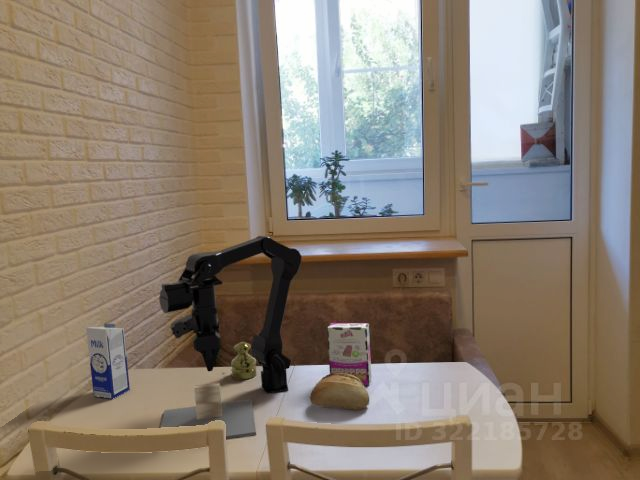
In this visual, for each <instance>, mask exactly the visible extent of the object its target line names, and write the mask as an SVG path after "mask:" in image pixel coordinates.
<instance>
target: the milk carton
mask: <svg viewBox="0 0 640 480" xmlns="http://www.w3.org/2000/svg"><path fill="white" fill-rule="evenodd" d="M85 330H86V337H87V338H86V339H87V349H88V355H89V356H88V358H89V365H90V366H89V367H90V373H91V374H90V375H91V383H92V392H93V396H94V395H95V396H99V397H105V398H104V399H106V398H109V399H108V400H112V399H113V398H115V397H116V398H118V397H120V396H121V394H122V395H124V394H125V393H127V392H128V390H129V391H130V389H131V386H130V378H129V368H128V360H127V359H128V358H127V349H126V341H125V339H126V338H125V328H123V327H122V328H121V327H120V328H119V327H116V323H109V322H107V323H106V322H105V323H104V326H89V327H88V326H87V327H85ZM126 391H127V392H126ZM124 392H125V393H124ZM119 395H120V396H119ZM117 396H118V397H117ZM99 397H98V398H99ZM116 398H115V399H116ZM113 400H114V399H113Z"/></svg>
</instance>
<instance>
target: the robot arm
mask: <svg viewBox="0 0 640 480" xmlns="http://www.w3.org/2000/svg"><path fill="white" fill-rule="evenodd" d="M260 254H263V255H264V256H265V257H267V258H268V259H270V270H271V273H272V274H271V275H272V284H271V288H270V292H269V298H268V303H267V306H266V307H267V308H266V312H265V316H264V321H263V327H262V328H261V329H262V330H261V331H260V332H259V333H258V334H256V333H254V334H253V336H252V343H251V347H250V349H251V354H252V355H251V356H252V357H253V358H255V359H256V361H257V362H258V365H260V366H262V370H261V371H260V379H261V382H260V384H261V388H262V389H263V391H264V393H265V394H268V393H269V394H270V393H277V392H278V393H279V392H285V391H288V390H289V386H288V377H287V369H290V368H291V367H290V366H291V362H292V360H291V359H290V358H288V356H286V355H285V354H283V349H284V348H283V347H284V344H283V340H282V335H281V330H282V325H283V320H284V315H285V311H286V305H287V302H288V295H289V291H290V286H291V282H292V280H293V279H294V278H295V277H296V275H297V274H298V272H299V269H300V267H301V264H302V258H303V256H302V254H301V253H300V251H299V250H298V249H297V248H292V247H288V246H286V245H285V244H282V243H280V242H277V241H276V240H274V239H272V237H269V236H265V235H258V236H256V237H255V238H252V239H250V240H246V241H243V242H241V243H237V244H235V245H231V246H229V247H225V248H224V249H221V250H216V251H215V250H214V251H204V252H199V253H194V254H191V255H190V256H188V258H187V260H186V263H185V268H184V269H183V271H182V273H181V275H180V277H179V278H178V282H174V283H164V284H163V283H162V284H161V290H160V292H159V298H158V299H159V305H160V307H161V310H162V312H163V313H165V314H168V313H173V312H177V311H181V310H185V309H189V308H190V307H191V306H192V309H191V313H190V314H188V315H185V316H184V317H181V318H179V319H176V320H175V321H173V322H171V323H170V330H171V332H172V336H174V337H175V339H179V338H182V336H184V335H186V334H188V333H191V332H192V333H193V334H195V335H194V337H193V341H192V342H193V350H195V351H196V352H198V353H200V354H201V355H202V359H203V361H204V365H205V367H206V370H207V372H213V370H214V367H215V363H216V360H217V358H218V354H219V351H220V349H221V344H222V343H221V334H220V333H219V332H220V325H219V318H218V311H217V299H216V289H215V287H216V286H219V285H222V284H223V281H222V280H220V278H218V277H217V275H218V274H220V273H222V272H221V271H223V270H224V269H225V268H227V267H228V266H231V265H233V264H236V263H239V262H241V261H244V260H246V259H250V258H252V257H255V256H257V255H260Z"/></svg>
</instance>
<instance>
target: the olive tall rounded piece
mask: <svg viewBox="0 0 640 480" xmlns="http://www.w3.org/2000/svg"><path fill="white" fill-rule="evenodd" d="M251 346H252V344H250V343H248V342H245V341H240V342H239V343H237V344H235V345H234V346H233V350H235V351H236V352H237V353H238V354H237V355H236V356H235V357H234V358H233V359H232V360H231V362H230V366H231V377H232V378H233V379H235V380H240V379H243V380H248V378H249V379H252V378H254V377H256V375H257V366H256V364H257V360H256V359H255V358H254V356H252V355H250V353H248V352H249V350H250V349H251V348H250V347H251ZM251 377H252V378H251Z"/></svg>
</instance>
